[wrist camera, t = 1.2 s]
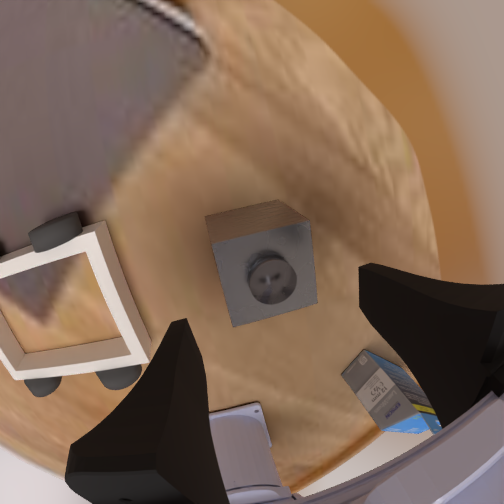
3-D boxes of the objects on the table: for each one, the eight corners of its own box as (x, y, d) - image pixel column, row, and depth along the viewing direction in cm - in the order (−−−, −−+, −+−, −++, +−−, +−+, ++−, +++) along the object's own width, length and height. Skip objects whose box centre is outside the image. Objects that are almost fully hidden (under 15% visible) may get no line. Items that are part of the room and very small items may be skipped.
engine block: (287, 265, 22) (323, 310, 16) (221, 283, 21) (235, 335, 15) (277, 199, 20) (316, 224, 14) (204, 216, 19) (213, 249, 13)
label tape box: (339, 374, 27) (397, 465, 16) (365, 345, 27) (436, 432, 16) (381, 389, 31) (433, 460, 20) (404, 365, 30) (462, 433, 19)
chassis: (156, 352, 22) (154, 383, 19) (30, 372, 20) (18, 397, 17) (100, 202, 17) (82, 216, 14) (-32, 254, 15) (-55, 272, 12)
